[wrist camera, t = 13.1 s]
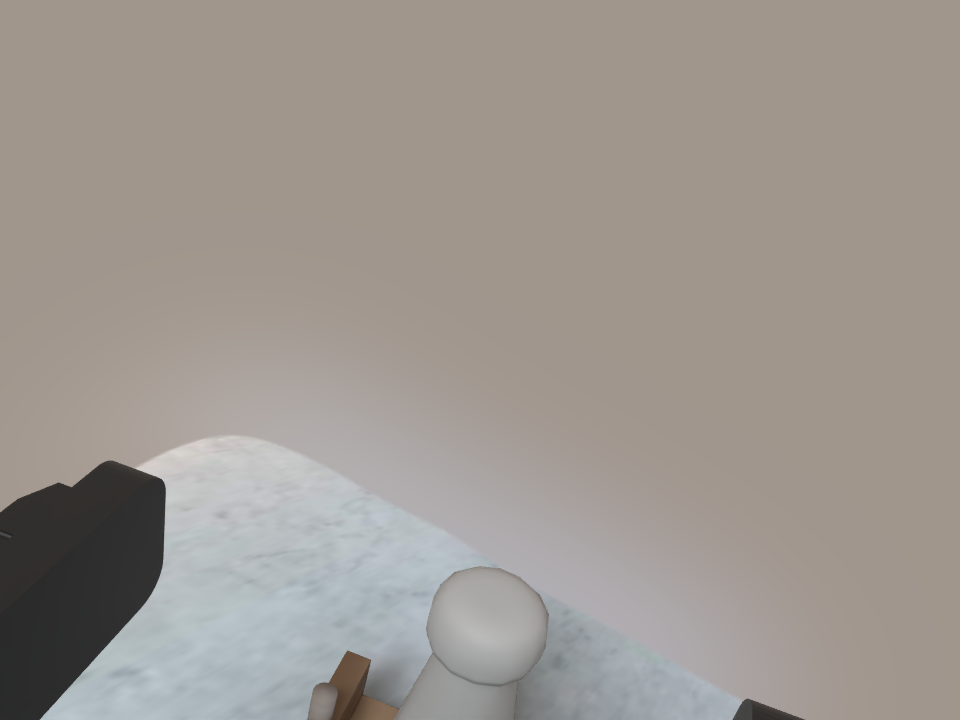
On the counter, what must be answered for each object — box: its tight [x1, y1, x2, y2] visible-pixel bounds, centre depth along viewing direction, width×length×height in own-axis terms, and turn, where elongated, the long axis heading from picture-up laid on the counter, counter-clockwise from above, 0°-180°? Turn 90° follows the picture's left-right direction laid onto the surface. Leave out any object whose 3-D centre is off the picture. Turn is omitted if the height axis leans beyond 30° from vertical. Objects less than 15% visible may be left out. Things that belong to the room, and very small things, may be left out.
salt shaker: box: [393, 566, 549, 720], centre depth 34 cm, size 6×6×13 cm
